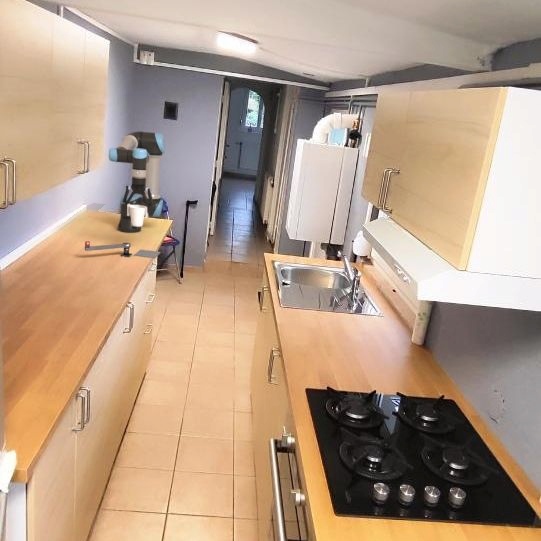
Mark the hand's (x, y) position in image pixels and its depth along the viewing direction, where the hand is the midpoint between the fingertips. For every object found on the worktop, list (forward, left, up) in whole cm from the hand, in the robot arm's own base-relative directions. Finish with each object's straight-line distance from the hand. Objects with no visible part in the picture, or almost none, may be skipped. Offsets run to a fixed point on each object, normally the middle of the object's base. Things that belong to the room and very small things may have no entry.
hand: (137, 216), depth 309 cm
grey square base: (+8, -3, -21) cm, 23 cm away
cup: (0, 0, -5) cm, 5 cm away
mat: (+1, +7, -21) cm, 22 cm away
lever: (+16, -11, -16) cm, 25 cm away
